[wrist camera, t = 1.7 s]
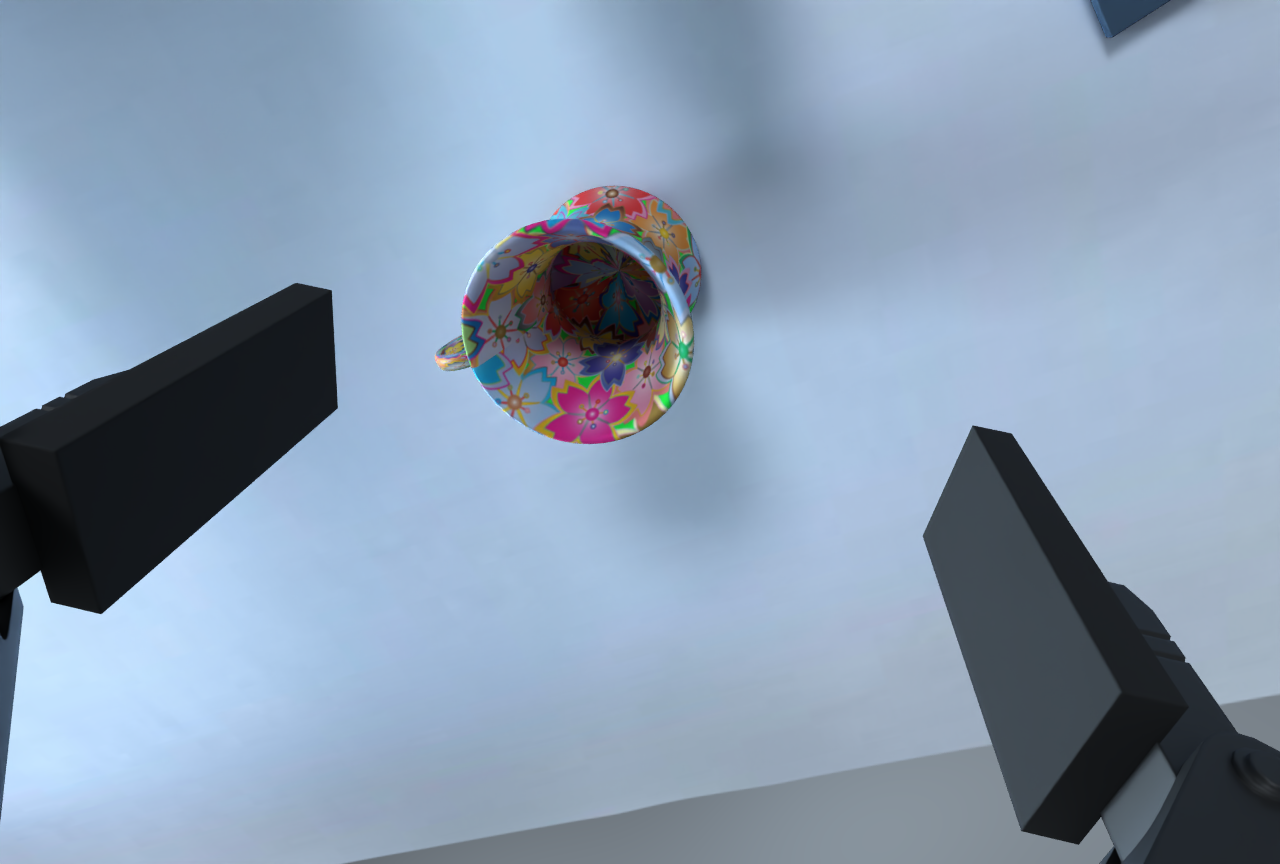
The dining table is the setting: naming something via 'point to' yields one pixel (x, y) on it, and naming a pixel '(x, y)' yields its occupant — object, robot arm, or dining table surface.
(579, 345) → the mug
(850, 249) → the dining table surface
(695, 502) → the dining table surface
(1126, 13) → the mat
